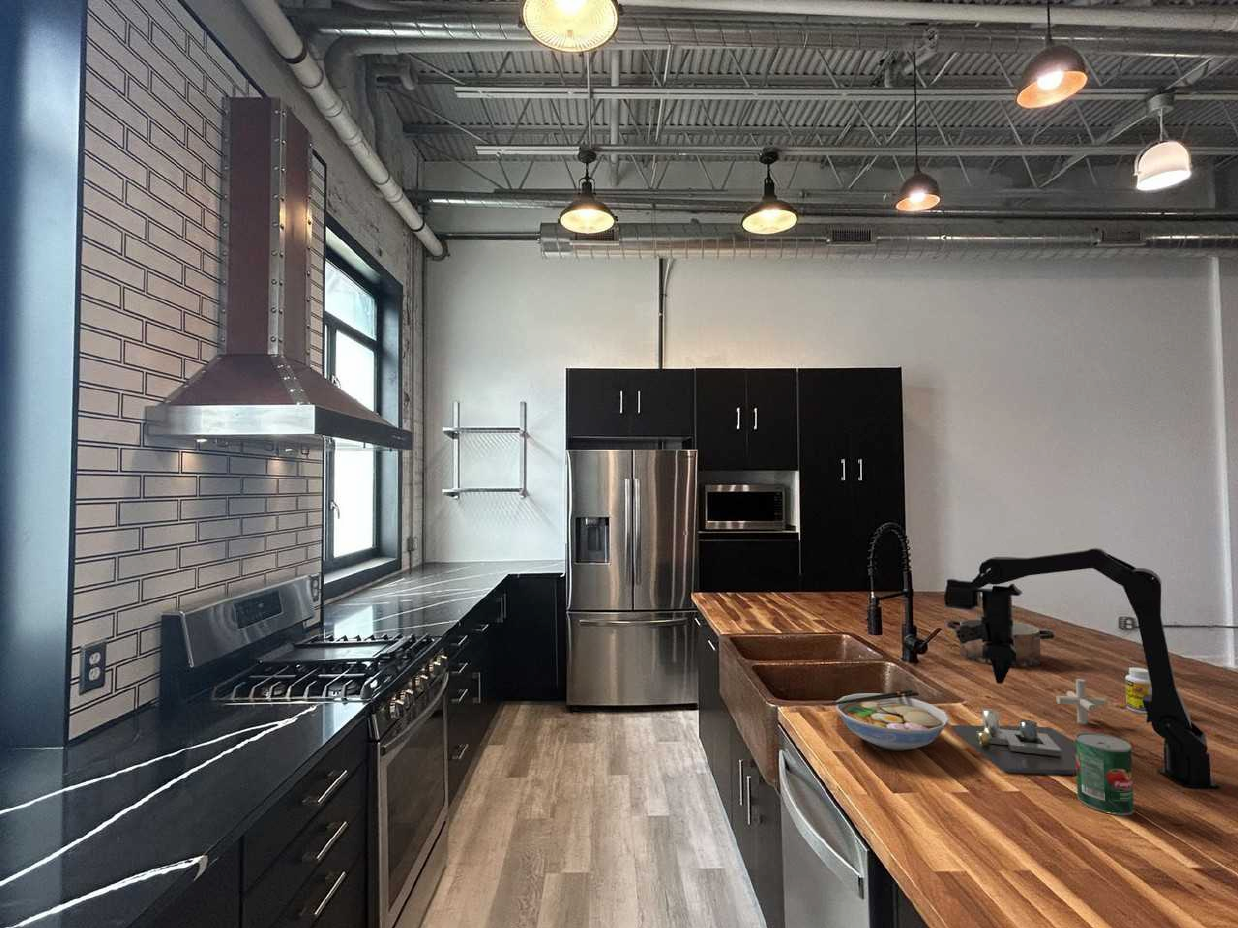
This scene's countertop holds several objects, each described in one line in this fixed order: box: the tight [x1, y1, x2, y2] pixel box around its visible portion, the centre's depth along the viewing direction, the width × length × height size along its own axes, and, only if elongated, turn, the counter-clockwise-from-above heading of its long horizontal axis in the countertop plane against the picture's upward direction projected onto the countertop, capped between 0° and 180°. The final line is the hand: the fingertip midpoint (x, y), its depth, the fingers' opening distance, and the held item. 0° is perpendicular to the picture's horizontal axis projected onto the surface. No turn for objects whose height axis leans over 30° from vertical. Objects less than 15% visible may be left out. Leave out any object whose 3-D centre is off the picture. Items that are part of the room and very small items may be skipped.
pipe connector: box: [1055, 678, 1108, 725], centre depth 145 cm, size 10×10×10 cm
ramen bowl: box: [822, 689, 950, 752], centre depth 133 cm, size 25×23×8 cm
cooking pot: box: [946, 618, 1055, 669], centre depth 201 cm, size 30×22×11 cm
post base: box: [951, 719, 1077, 776], centre depth 129 cm, size 22×22×6 cm
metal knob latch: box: [976, 708, 1062, 757], centre depth 130 cm, size 14×9×6 cm, turn 71°
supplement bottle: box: [1125, 667, 1152, 715], centre depth 153 cm, size 6×6×10 cm
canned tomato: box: [1074, 731, 1135, 816], centre depth 108 cm, size 8×8×11 cm
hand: (999, 683), depth 137 cm, fingers closed
